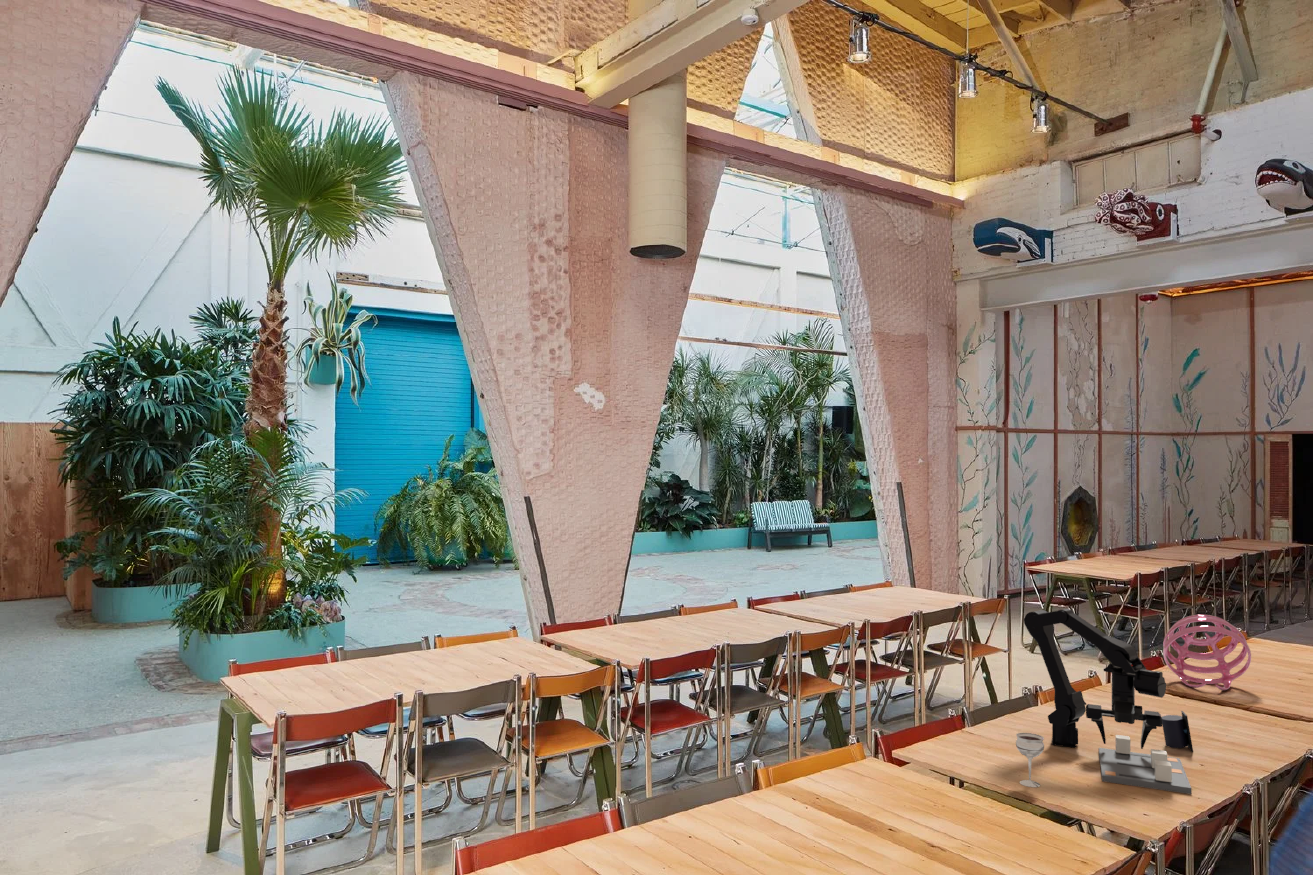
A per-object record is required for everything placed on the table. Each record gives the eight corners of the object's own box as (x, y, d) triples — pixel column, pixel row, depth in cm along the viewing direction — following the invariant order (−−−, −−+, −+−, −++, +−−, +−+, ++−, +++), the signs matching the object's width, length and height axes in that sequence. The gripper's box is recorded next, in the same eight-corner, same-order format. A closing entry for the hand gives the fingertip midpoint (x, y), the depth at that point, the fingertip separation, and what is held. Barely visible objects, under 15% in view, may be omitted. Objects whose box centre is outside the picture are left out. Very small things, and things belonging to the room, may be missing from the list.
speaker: (1196, 746, 259) (1191, 710, 260) (1193, 752, 255) (1188, 715, 255) (1167, 743, 264) (1162, 708, 264) (1163, 749, 259) (1159, 713, 260)
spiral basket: (1247, 647, 308) (1234, 594, 329) (1158, 656, 323) (1150, 605, 344) (1265, 703, 318) (1251, 649, 339) (1178, 710, 333) (1169, 657, 354)
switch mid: (1152, 767, 235) (1152, 752, 235) (1151, 763, 238) (1151, 748, 238) (1167, 769, 233) (1167, 754, 233) (1166, 765, 236) (1165, 750, 237)
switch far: (1116, 752, 247) (1116, 737, 247) (1115, 748, 250) (1115, 734, 250) (1130, 754, 246) (1130, 739, 246) (1129, 750, 249) (1129, 736, 249)
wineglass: (1031, 790, 223) (1031, 742, 223) (1009, 781, 229) (1009, 734, 229) (1050, 785, 226) (1050, 738, 227) (1028, 777, 232) (1028, 731, 233)
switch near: (1155, 779, 226) (1155, 764, 226) (1154, 775, 229) (1154, 759, 229) (1171, 782, 224) (1171, 766, 224) (1170, 777, 227) (1170, 762, 228)
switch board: (1102, 781, 230) (1102, 774, 230) (1098, 752, 253) (1098, 747, 253) (1191, 793, 222) (1191, 787, 222) (1179, 763, 244) (1179, 757, 244)
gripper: (1086, 692, 245) (1086, 749, 245) (1164, 700, 237) (1164, 759, 237) (1085, 683, 255) (1085, 738, 255) (1160, 691, 247) (1160, 747, 247)
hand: (1123, 745), depth 248 cm, fingers open, 9 cm apart
